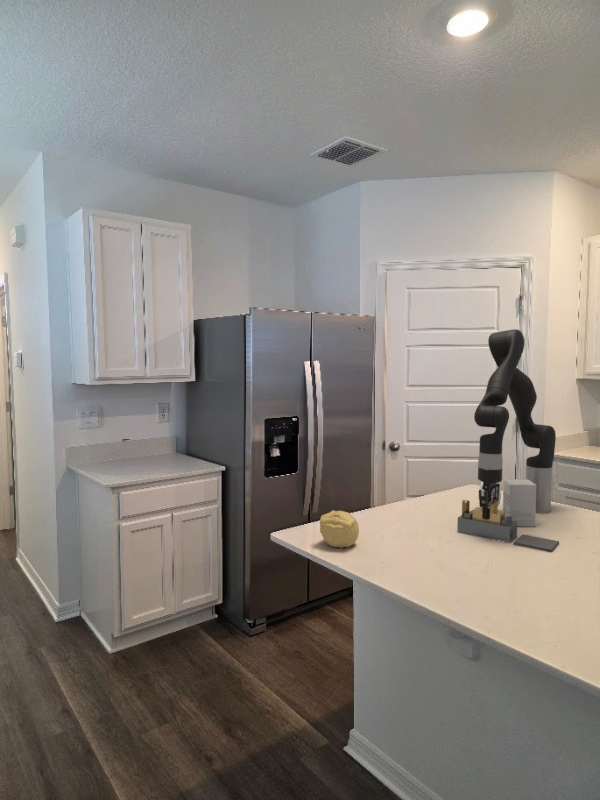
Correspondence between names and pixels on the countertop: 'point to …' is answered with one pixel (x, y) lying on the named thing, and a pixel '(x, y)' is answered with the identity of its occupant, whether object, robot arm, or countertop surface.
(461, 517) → the grey block holder tray
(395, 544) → the countertop surface
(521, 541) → the rubber mat
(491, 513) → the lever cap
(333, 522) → the pale yellow lumpy ball
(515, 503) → the supplement box
